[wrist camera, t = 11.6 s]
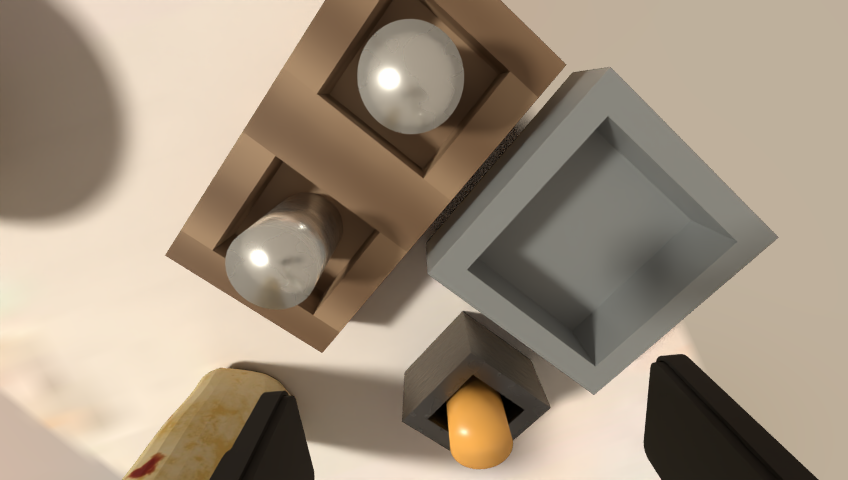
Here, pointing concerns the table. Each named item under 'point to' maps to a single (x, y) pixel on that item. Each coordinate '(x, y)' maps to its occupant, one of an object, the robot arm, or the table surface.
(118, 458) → the table surface
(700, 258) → the tray
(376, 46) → the cylinder
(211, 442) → the food model
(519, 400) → the button housing
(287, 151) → the brown compartment tray
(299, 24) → the table surface
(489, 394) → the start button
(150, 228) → the table surface
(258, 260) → the cylinder
